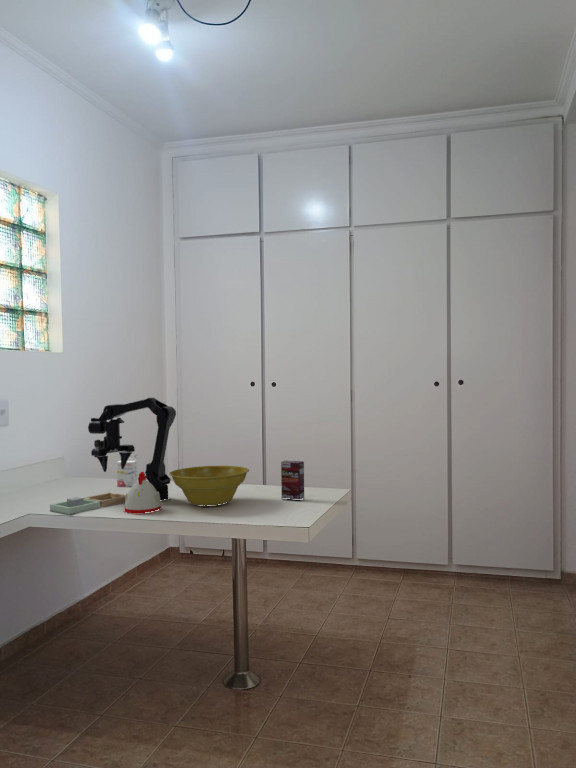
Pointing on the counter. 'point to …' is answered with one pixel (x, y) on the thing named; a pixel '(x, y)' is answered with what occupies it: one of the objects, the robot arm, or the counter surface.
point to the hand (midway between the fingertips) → (113, 470)
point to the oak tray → (107, 499)
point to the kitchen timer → (142, 497)
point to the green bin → (64, 509)
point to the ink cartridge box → (127, 472)
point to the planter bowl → (209, 483)
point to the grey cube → (75, 502)
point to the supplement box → (292, 479)
